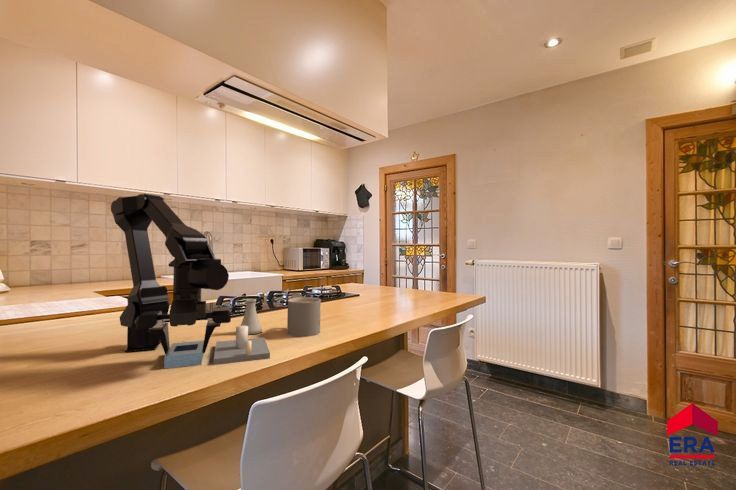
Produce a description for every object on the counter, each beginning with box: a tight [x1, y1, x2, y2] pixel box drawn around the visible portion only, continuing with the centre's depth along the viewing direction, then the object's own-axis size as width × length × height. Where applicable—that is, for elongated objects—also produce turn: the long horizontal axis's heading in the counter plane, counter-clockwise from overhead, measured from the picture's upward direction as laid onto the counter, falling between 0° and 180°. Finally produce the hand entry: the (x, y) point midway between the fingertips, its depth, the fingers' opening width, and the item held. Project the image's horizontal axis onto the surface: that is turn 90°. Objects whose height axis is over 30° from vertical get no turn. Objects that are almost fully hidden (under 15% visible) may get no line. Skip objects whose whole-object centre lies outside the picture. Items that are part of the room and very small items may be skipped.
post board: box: [213, 325, 271, 365], centre depth 80 cm, size 12×14×6 cm
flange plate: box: [163, 340, 205, 369], centre depth 75 cm, size 10×7×3 cm
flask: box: [240, 298, 263, 335], centre depth 99 cm, size 7×7×10 cm
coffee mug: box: [286, 297, 322, 338], centre depth 101 cm, size 13×10×10 cm
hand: (186, 354), depth 75 cm, fingers closed on flange plate, 7 cm apart
